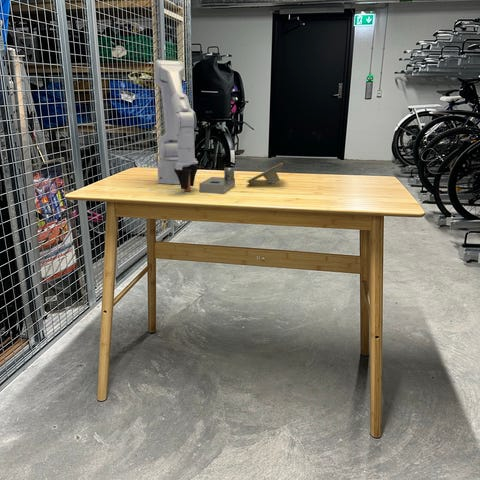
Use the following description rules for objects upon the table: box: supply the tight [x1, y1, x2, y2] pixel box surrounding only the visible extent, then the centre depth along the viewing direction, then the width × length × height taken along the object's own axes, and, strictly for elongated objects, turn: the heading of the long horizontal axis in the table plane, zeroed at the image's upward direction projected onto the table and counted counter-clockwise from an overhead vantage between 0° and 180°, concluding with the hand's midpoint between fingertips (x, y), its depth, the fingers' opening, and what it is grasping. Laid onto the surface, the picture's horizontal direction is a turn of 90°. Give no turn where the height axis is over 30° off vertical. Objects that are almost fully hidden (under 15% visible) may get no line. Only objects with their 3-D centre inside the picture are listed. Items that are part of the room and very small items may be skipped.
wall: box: [246, 162, 284, 185], centre depth 163 cm, size 16×9×15 cm
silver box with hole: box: [198, 167, 236, 195], centre depth 152 cm, size 9×14×7 cm, turn 165°
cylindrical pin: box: [183, 175, 191, 193], centre depth 148 cm, size 2×2×6 cm
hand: (187, 187), depth 148 cm, fingers open, 5 cm apart
